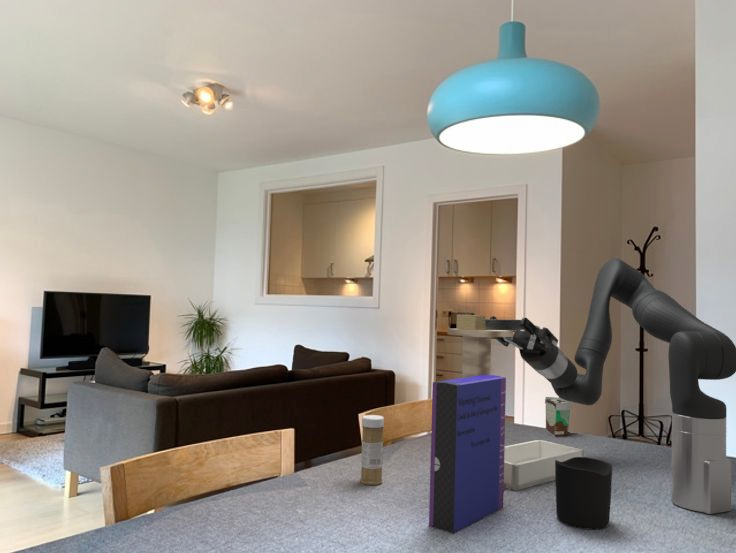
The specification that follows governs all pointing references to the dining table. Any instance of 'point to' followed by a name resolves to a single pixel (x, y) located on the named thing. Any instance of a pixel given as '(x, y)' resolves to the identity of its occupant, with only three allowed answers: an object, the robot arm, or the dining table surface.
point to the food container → (557, 416)
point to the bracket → (477, 351)
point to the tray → (534, 462)
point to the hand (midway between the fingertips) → (506, 320)
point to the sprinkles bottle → (372, 449)
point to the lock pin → (486, 323)
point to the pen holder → (583, 492)
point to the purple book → (466, 451)
